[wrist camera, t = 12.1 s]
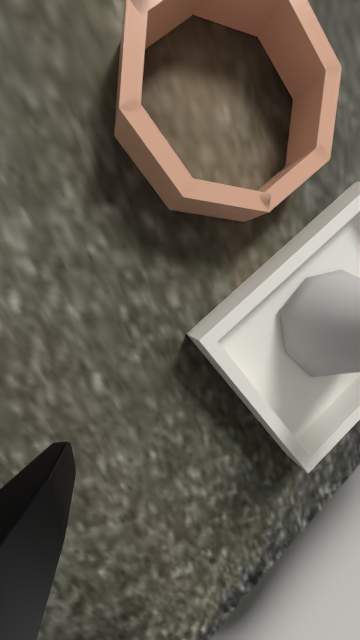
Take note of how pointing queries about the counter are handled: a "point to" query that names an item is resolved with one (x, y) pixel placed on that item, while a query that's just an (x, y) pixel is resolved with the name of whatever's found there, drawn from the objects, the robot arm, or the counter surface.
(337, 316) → the flask
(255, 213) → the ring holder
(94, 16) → the counter surface
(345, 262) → the tray
